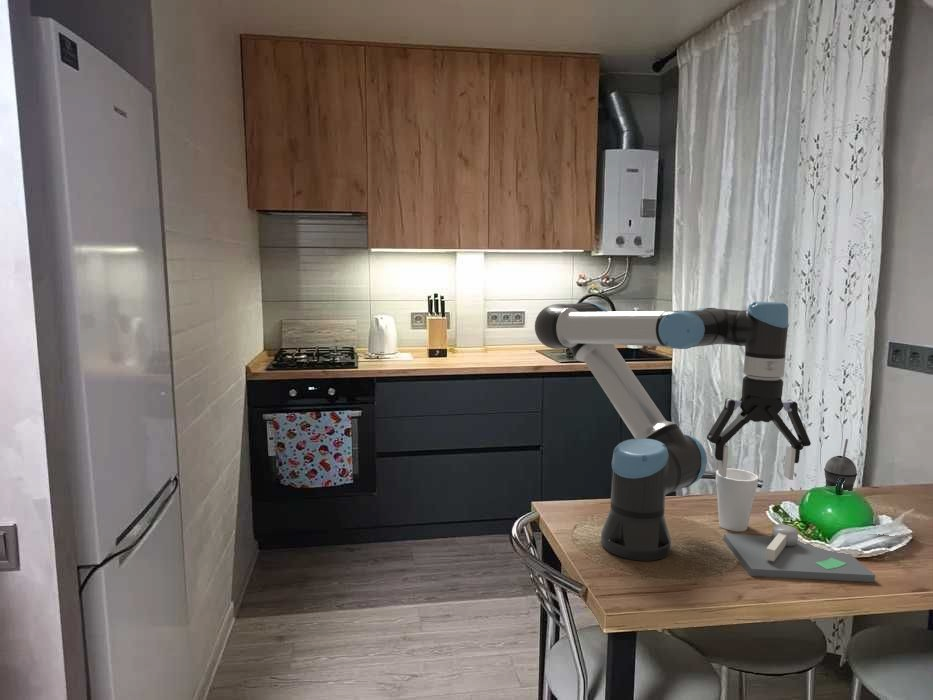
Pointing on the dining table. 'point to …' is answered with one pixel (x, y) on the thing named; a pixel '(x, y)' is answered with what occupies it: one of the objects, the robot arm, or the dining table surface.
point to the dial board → (796, 560)
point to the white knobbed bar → (781, 540)
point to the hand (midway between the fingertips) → (755, 476)
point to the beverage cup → (841, 470)
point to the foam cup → (735, 498)
